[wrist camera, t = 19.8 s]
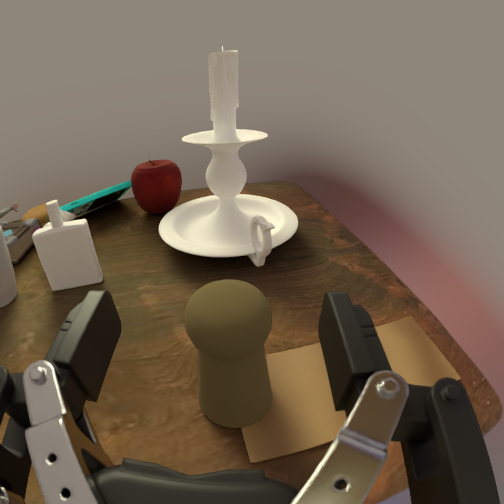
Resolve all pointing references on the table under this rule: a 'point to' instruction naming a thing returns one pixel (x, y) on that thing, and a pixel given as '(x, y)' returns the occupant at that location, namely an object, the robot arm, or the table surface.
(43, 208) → the bread roll
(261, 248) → the candlestick
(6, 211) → the anime character
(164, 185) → the apple
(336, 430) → the cork mat
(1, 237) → the cup
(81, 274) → the perfume bottle
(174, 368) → the table surface
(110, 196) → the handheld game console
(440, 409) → the robot arm
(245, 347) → the pepper shaker
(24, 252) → the book
